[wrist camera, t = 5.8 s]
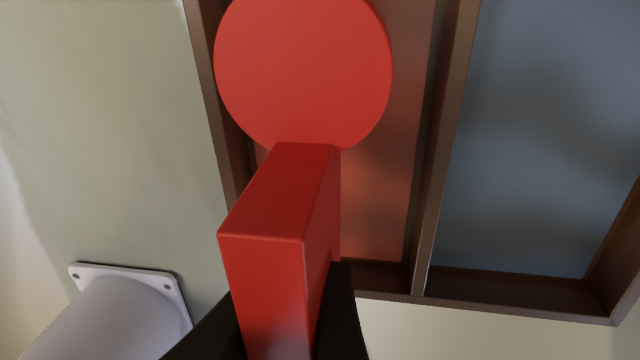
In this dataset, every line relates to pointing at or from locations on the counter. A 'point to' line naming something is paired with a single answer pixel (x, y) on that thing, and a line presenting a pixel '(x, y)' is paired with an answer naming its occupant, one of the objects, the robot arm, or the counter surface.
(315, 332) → the red spoon
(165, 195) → the counter surface
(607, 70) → the sorting tray
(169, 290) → the robot arm
